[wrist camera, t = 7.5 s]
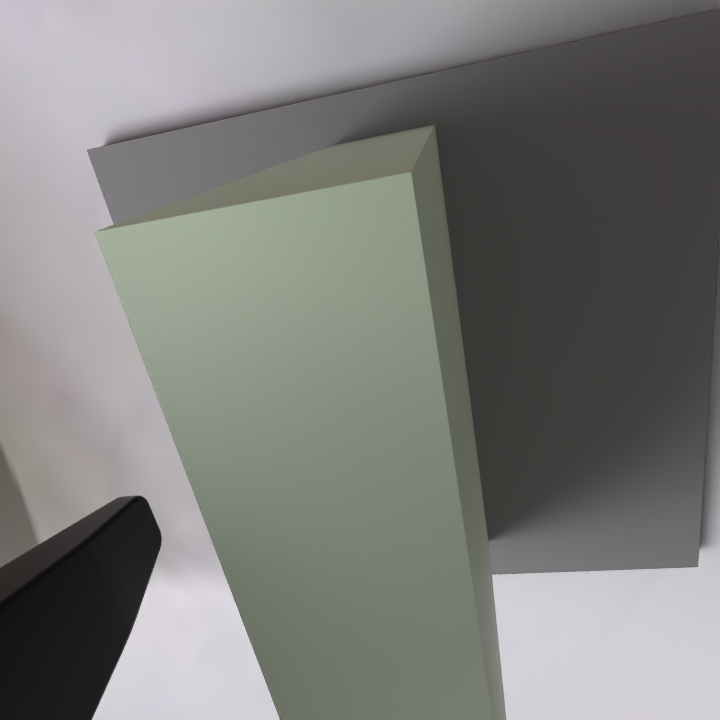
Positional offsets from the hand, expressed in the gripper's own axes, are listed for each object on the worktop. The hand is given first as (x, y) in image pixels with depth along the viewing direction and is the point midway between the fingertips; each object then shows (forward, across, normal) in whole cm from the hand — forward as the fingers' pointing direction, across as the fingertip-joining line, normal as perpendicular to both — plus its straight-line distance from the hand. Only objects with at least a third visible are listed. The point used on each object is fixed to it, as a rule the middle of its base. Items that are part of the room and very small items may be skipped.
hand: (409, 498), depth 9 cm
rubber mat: (+5, 0, 0) cm, 5 cm away
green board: (+4, 0, 0) cm, 4 cm away
